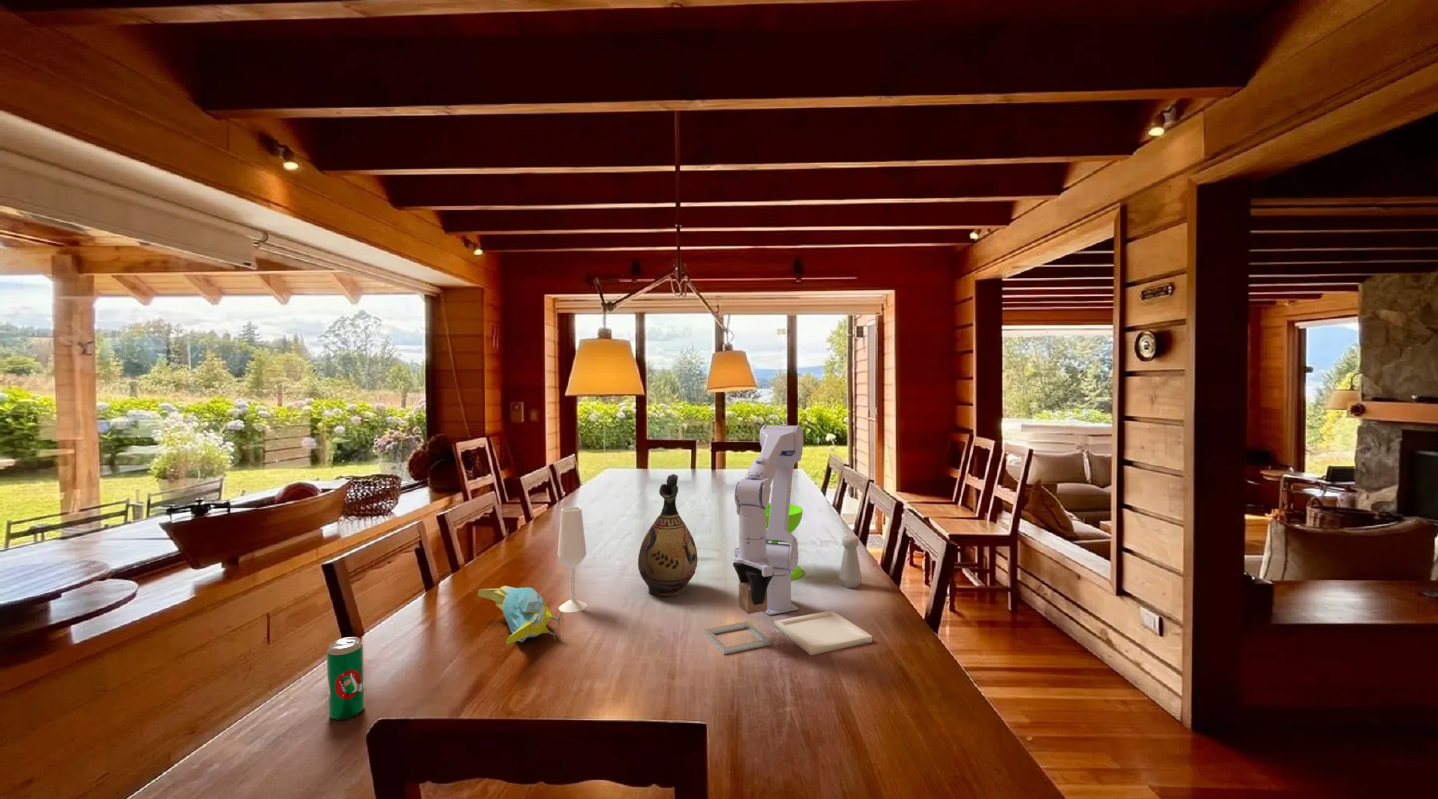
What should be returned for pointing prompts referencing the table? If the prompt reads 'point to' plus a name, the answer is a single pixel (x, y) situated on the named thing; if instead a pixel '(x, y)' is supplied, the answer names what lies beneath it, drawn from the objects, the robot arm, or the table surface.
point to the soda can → (345, 678)
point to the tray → (822, 632)
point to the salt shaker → (850, 563)
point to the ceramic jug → (668, 548)
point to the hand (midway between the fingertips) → (752, 599)
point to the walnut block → (749, 600)
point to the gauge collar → (740, 647)
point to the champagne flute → (571, 551)
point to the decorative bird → (521, 611)
